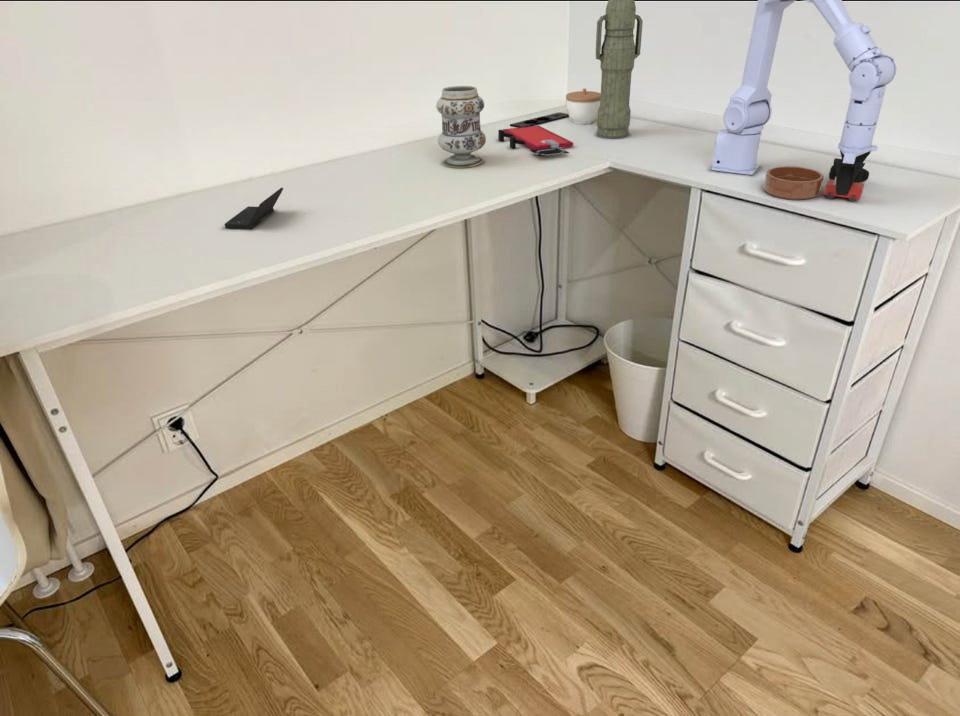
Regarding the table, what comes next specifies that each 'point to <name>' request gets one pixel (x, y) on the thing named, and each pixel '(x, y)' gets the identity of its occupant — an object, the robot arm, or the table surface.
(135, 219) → the table surface
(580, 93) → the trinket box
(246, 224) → the handheld gaming console
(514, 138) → the red board with handle
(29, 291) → the table surface
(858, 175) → the tape measure
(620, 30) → the green vase
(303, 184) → the table surface
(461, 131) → the apothecary jar
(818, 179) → the bowl
